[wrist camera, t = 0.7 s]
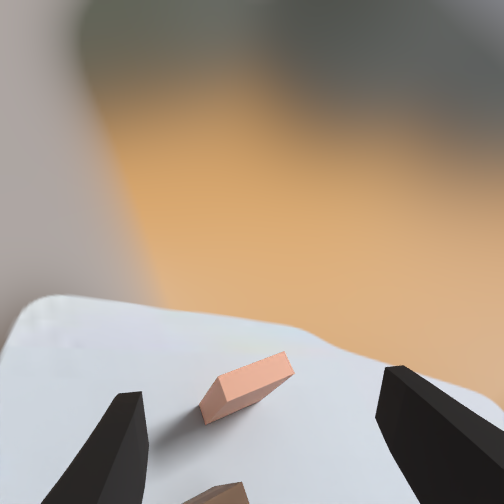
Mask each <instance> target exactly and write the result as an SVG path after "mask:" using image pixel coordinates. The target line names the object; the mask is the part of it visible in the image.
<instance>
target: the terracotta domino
mask: <svg viewBox="0 0 504 504" xmlns="http://www.w3.org/2000/svg"><path fill="white" fill-rule="evenodd" d="M293 374H295V373H294V371H293V369H292V367H291V364H290V362H289V360H288V358H287V356H286V354H285V352H281V353H278V354H276V355H273V356H270V357H268V358H265V359H262V360H260V361H257V362H255V363H252V364H249V365H247V366H244V367H241V368H239V369H236V370H233V371H231V372H228V373H225V374H223V375H220V376H218V377H217V379H216V380H215V382H214V383H213V384H212V386H211V387H210V389H209V390H208V392H207V393H206V395H205V396H204V398H203V399H202V401H201V402H200V404H199V406H200V410H201V413H202V416H203V419H204V422H205V425H207V424H209V423H211V422H213V421H216V420H218V419H220V418H222V417H225V416H227V415H229V414H232V413H234V412H236V411H238V410H241V409H243V408H245V407H247V406H250V405H252V404H254V403H256V402H259V401H261V400H262V399H263V398H264V397H266V396H267V395H268V394H269V393H271V392H272V391H273V390H274V389H276V388H277V387H278V386H280V385H281V384H282V383H283V382H285V381H286V380H287V379H288V378H290V377H291V376H292V375H293Z"/></svg>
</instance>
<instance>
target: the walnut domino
mask: <svg viewBox="0 0 504 504" xmlns="http://www.w3.org/2000/svg"><path fill="white" fill-rule="evenodd" d="M182 504H249V501H248V498H247V495H246V492H245V489H244V486H243V483H242V482H237V483H231V484H225V485H219V486H214V487H212V488H210V489H209V490H207V491H205V492H203V493H201V494H199V495H197V496H195V497H194V498H192V499H190V500H188V501H186V502H184V503H182Z"/></svg>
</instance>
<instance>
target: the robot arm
mask: <svg viewBox="0 0 504 504" xmlns="http://www.w3.org/2000/svg"><path fill="white" fill-rule="evenodd" d="M375 419H376V421H377V423H378V426H379V428H380V430H381V433H382V435H383V437H384V439H385V442H386V444H387V446H388V448H389V450H390V452H391V454H392V456H393V458H394V459H395V461H396V463H397V465H398V466H399V468H400V470H401V472H402V473H403V475H404V477H405V478H406V480H407V482H408V484H409V485H410V487H411V489H412V490H413V492H414V494H415V495H416V497H417V499H418V500H419V502H420V504H504V431H502V430H501V429H499V428H498V427H496V426H494V425H493V424H491V423H490V422H488V421H487V420H485V419H484V418H482V417H480V416H479V415H477V414H476V413H474V412H473V411H471V410H470V409H468V408H467V407H465V406H464V405H462V404H461V403H459V402H458V401H456V400H455V399H453V398H452V397H450V396H449V395H448V394H446V393H445V392H443V391H442V390H440V389H439V388H437V387H436V386H434V385H433V384H431V383H430V382H428V381H427V380H425V379H424V378H422V377H421V376H419V375H418V374H416V373H415V372H413V371H412V370H410V369H409V368H407V367H405V366H403V365H402V366H392V367H385V370H384V375H383V380H382V385H381V391H380V396H379V401H378V406H377V411H376V416H375ZM148 450H149V442H148V434H147V427H146V420H145V412H144V405H143V398H142V391H139V392H129V393H119V394H118V395H117V396H116V397H115V398H114V399H113V401H112V403H111V404H110V406H109V407H108V409H107V411H106V412H105V414H104V415H103V417H102V419H101V420H100V422H99V423H98V425H97V426H96V428H95V429H94V431H93V432H92V434H91V435H90V437H89V438H88V440H87V441H86V443H85V444H84V445H83V447H82V448H81V450H80V451H79V453H78V454H77V455H76V457H75V458H74V460H73V461H72V462H71V464H70V465H69V467H68V468H67V470H66V471H65V472H64V474H63V475H62V476H61V478H60V479H59V480H58V482H57V483H56V484H55V486H54V487H53V488H52V489H51V491H50V492H49V493H48V495H47V496H46V497H45V499H44V500H43V501H42V502H41V504H142V499H143V493H144V488H145V480H146V471H147V461H148Z"/></svg>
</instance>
